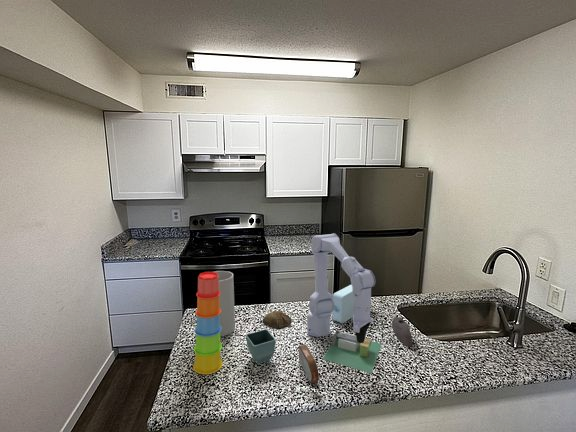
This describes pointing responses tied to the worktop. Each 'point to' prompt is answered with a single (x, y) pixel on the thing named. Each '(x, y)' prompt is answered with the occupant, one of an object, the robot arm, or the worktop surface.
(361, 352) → the block
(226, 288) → the cylinder vase
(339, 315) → the light blue box
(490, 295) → the worktop surface
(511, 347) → the worktop surface
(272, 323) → the bread roll
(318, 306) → the robot arm
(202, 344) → the stacking cups
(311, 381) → the tin
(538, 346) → the worktop surface
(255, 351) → the flower pot
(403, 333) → the perforated stone tool
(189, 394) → the worktop surface
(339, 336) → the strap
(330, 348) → the green board with slider
